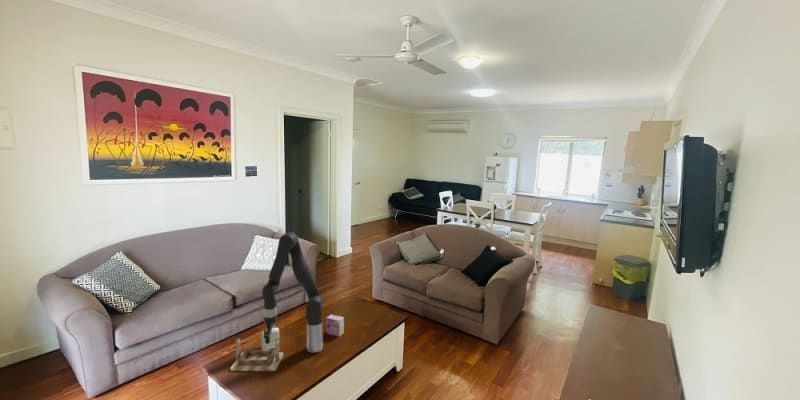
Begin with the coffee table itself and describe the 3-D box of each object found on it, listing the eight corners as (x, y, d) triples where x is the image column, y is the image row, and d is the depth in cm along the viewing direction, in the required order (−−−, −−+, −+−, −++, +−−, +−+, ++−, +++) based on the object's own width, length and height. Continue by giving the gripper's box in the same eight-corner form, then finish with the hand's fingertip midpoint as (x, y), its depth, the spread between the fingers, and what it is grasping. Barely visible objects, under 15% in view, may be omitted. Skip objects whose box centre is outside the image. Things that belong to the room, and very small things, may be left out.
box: (326, 334, 219) (326, 317, 217) (330, 330, 224) (331, 314, 223) (339, 337, 215) (339, 320, 214) (343, 333, 220) (344, 317, 219)
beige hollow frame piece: (283, 354, 194) (283, 332, 192) (275, 370, 179) (275, 346, 177) (242, 354, 192) (241, 332, 191) (230, 370, 177) (229, 346, 176)
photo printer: (278, 343, 205) (278, 325, 204) (280, 347, 202) (280, 328, 200) (260, 348, 199) (260, 329, 198) (262, 351, 196) (262, 332, 195)
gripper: (272, 320, 191) (272, 346, 193) (280, 309, 205) (279, 333, 207) (259, 319, 191) (259, 345, 193) (268, 308, 205) (267, 333, 207)
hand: (269, 339), depth 200 cm, fingers open, 8 cm apart
